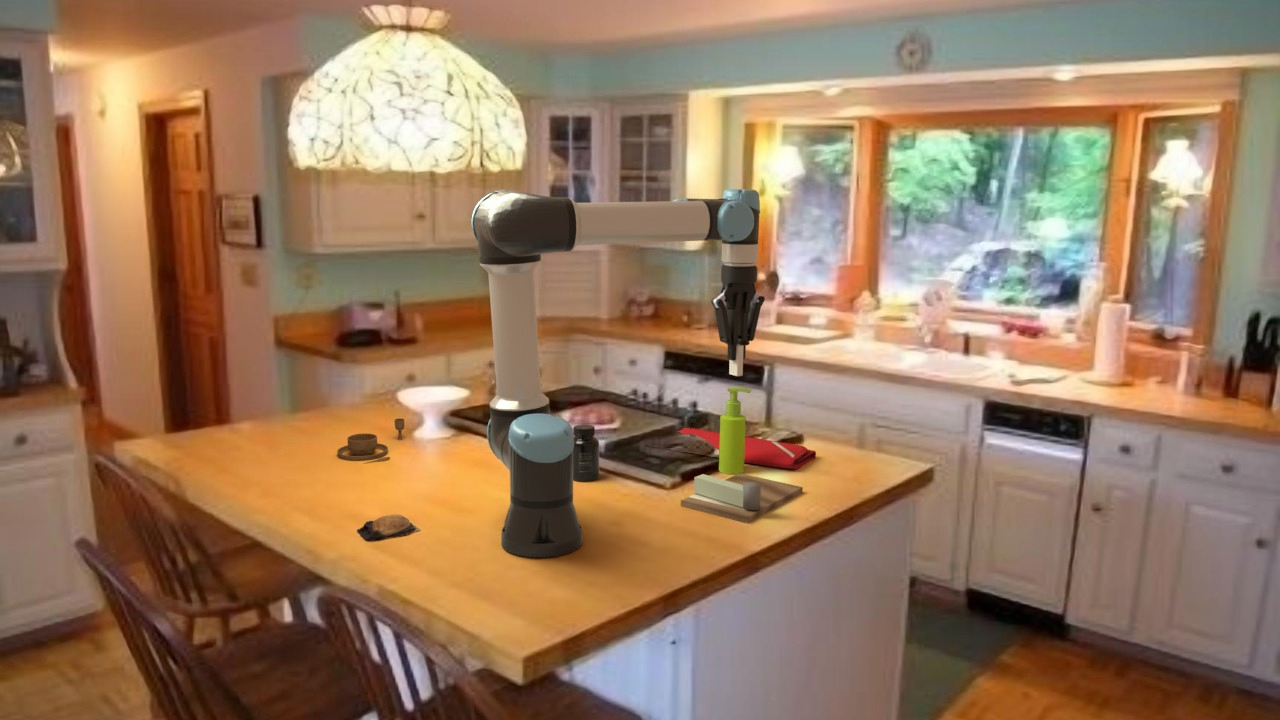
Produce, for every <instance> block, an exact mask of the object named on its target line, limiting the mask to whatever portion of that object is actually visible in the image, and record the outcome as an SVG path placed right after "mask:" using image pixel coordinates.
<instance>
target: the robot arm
mask: <svg viewBox="0 0 1280 720" xmlns="http://www.w3.org/2000/svg"><path fill="white" fill-rule="evenodd" d="M760 214H761V202H760V194H759V192H758V190H756V189H750V188H749V189H746V188H745V189H743V188H742V189H737V188H736V189H735V188H734V189H733V188H732V189H731V188H729V189H725V190H724V191H723V195H722V198H688V197H685V198H676V199H673V200H671V201H669V200H668V201H664V200H663V201H615V202H614V201H612V202H608V201H607V202H605V201H603V202H601V201H600V202H575V200H573V199H572V198H571V197H569V196H566V197H565V196H563V197H562V196H559V197H558V196H548V195H540V194H535V193H530V192H526V191H516V190H507V189H502V190H495V191H493V192H491V193H489V194H487V195H485V196H484V197H483V198H481V199H480V201H478V203H477V204H476V205H475V208H474V209H473V212H472V217H471V230H472V232H473V233H472V234H473V236H474V239H475V240H476V241H477V248H478V260H479V262H478V263H479V266H480V267H482V268H483V269H484V270H485V271H486V272H487V274H488V285H489V298H490V299H489V300H490V315H491V317H490V318H491V331H492V343H493V345H492V346H493V357H494V358H493V359H494V370H495V371H494V372H495V385H496V388H495V389H496V395H495V397H493V399H492V400H491V401H490V402H489V411H490V412H489V413H490V419H489V420H488V424H487V427H486V439H487V442H488V445H489V448H490V450H491V452H492V453H493V454H494V456H495V457H496V458H497V459H498V460H500V462H502V464H503V465H504V466H505V467H506V468H507V470H509V492H510V493H509V494H510V497H509V498H510V499H509V500H510V501H509V502H510V503H509V507H508V511H507V513H506V516H505V520H504V523H503V524H504V525H503V526H502V529H501V534H500V536H501V538H500V539H501V543H500V544H501V546H502V549H504V550H505V551H507V552H508V553H511V554H513V555H516V556H519V557H525V558H552V557H553V558H554V557H559V556H565V555H567V554H569V553H573V552H574V551H576V550H577V549H579V548H580V547H581V546H582V544H583V528H582V526H581V524H580V523H579V518H578V515H577V514H578V513H577V511H576V507H575V504H574V480H573V448H574V438H573V437H574V435H573V432H574V430H573V427H572V425H571V424H570V422H568V421H567V420H566V419H565V418H563V417H560V416H557V415H556V416H554V415H553V414H551V412H550V411H551V409H550V398H549V397H548V396H546V395H545V394H544V393H543V392H542V390H541V389H542V387H541V385H542V384H541V371H540V369H541V368H540V354H539V337H538V322H537V321H538V320H537V318H538V317H537V305H536V288H535V287H536V286H535V269H536V268H537V267H538V266H539V265H540V263H541V262H542V255H543V254H551V253H562V252H567V253H568V252H573V251H574V250H575V248H577V246H595V245H597V246H599V245H618V244H622V245H623V244H625V245H626V244H650V243H651V244H652V243H671V242H672V243H674V242H679V243H680V242H699V241H701V242H702V241H704V242H706V241H707V242H708V241H721V242H722V244H721V262H722V263H723V264H722V266H720V267H721V268H720V269H721V271H720V281H721V283H722V287H721V289H720V294H719V295H718V296H716V297H713V298H711V299H710V303H711V304H712V307H713V309H714V311H715V312H714V313H715V314H714V315H715V319H716V325H717V330H718V331H717V332H718V337H719V341H720V342H721V343H724V344H726V345H727V360H728V361H729V364H728V365H729V367H728V368H729V369H728V371H729V372H728V374H729V375H732V376H734V377H742V376H744V375H743V373H744V369H743V368H744V360H746V351H747V350H746V349H747V346H749V345H750V344H751V343H750V342H752V341H754V340H755V335H756V331H757V326H758V322H759V317H760V313H761V308H762V306H763V304H764V302H765V299H766V298H765V296H763V295H760V294H758V293H757V289H756V285H755V284H756V283H757V282H758V266H757V265H756V263H758V262H759V230H760Z"/></svg>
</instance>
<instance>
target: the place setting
mask: <svg viewBox="0 0 1280 720" xmlns="http://www.w3.org/2000/svg"><path fill="white" fill-rule="evenodd" d="M394 428H395V429H396V430H397V431H398V434H397V437H398V439H397V441H403V440H404V439H402V438H403V433H402V431H403V430H404V429H405V419H404V418H395V419H394ZM375 450H380V451H382V452H378V453H374V454H372V452H374V451H375ZM388 451H389V447H388V446H387V445H386V444H383V443H378V436H377V434H373V433H357V434H352V435H351V434H350V436H348V437H347V445H344V446H341V447H339V448H338V449H337V451H336V452H337V456H338V457H339V458H341V459H342V460H345V461H351V462H352V461H353V462H354V461H355V462H361V461H364V462H363V464H362V465H364V464H365V465H366V464H369V463H375V462H386V461H388V460H389V459H390V458H391V457H390V456H386V455H387V453H388ZM346 452H351V453H353V454H354V455H346V454H345V453H346ZM384 456H385V457H384ZM365 461H367V462H365Z"/></svg>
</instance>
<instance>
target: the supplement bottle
mask: <svg viewBox="0 0 1280 720" xmlns="http://www.w3.org/2000/svg"><path fill="white" fill-rule="evenodd" d="M595 427H596V426H594V425H592V424H585V423H584V424H577V425H574V426H573V438H574V448H573V481H576V482H592V481H595V480H597V479H598V478H599V477H600V441H599V439H598V438H597V437H596V436H595V435H596V432H595Z"/></svg>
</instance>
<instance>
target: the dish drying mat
mask: <svg viewBox="0 0 1280 720" xmlns="http://www.w3.org/2000/svg"><path fill="white" fill-rule="evenodd" d="M690 428H691V429H690ZM678 432H680V433H682V434H692V435H697V436H699V437H701V438H703V439H705V440H706V441H708V442H709V443H711V444H712V445H713V446H714V447H715V448H717V449H718V450H719V447H720V431H713V430H706V429H700V428H694V427H689V428H683V429H682V430H680V431H678ZM816 456H817V451H816V450H814V449H813V450H812V449H808V448H807V447H806V446H804V445H800V444H794V443H787V442H782V441H781V442H780V441H775V440H768V439H763V438H762V439H761V438H759V437H758V438H757V437H750V436H745V453H744V464H745V463H746V464H753V465H759V466H765V467H772V468H778V469H779V468H780V469H789V470H799V469H801V468H802V467H804V466H805V465H807V464H808V463H809V462H811V461H814V460H815V459H816Z"/></svg>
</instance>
